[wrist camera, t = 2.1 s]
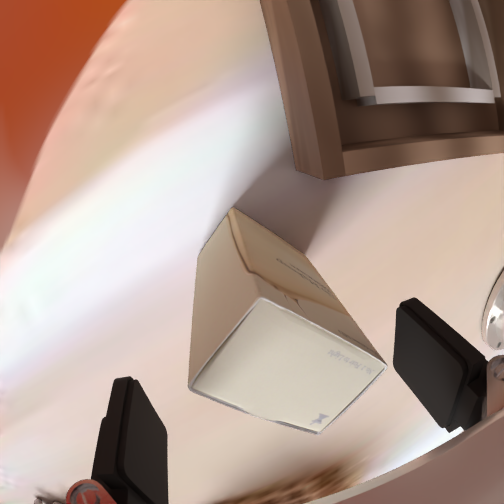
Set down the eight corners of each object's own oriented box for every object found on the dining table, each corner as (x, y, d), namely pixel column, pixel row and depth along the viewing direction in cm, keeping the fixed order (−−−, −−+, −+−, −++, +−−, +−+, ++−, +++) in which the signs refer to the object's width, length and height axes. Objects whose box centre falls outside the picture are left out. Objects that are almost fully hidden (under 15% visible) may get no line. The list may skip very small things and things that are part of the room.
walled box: (449, -53, 14) (482, -69, 10) (499, 142, 21) (540, 149, 17) (235, -83, 13) (245, -122, 8) (295, 170, 20) (323, 180, 15)
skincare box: (305, 254, 22) (397, 364, 11) (267, 304, 23) (321, 439, 12) (228, 203, 20) (264, 290, 9) (190, 260, 21) (184, 393, 10)
